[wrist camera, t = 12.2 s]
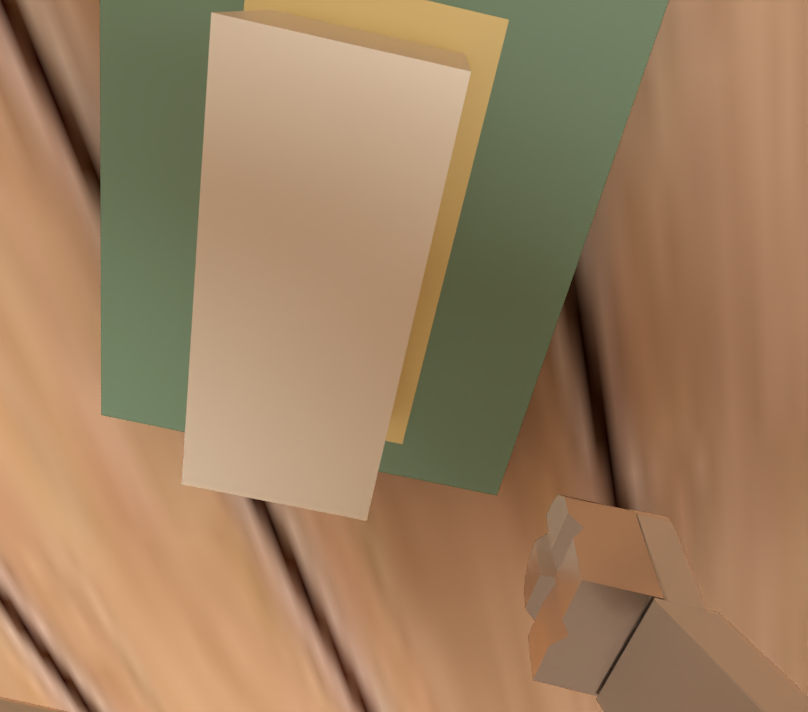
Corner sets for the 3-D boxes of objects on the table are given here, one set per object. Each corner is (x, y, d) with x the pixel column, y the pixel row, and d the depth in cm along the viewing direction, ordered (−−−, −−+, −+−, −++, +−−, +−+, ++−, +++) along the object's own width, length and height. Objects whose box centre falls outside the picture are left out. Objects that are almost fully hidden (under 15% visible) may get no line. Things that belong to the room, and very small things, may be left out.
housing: (465, 53, 17) (471, 71, 13) (382, 419, 23) (366, 521, 18) (272, 10, 17) (211, 12, 13) (234, 389, 22) (181, 484, 18)
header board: (655, -8, 18) (723, -12, 13) (494, 469, 25) (504, 568, 21) (126, -135, 17) (14, -182, 13) (120, 392, 25) (48, 478, 20)
